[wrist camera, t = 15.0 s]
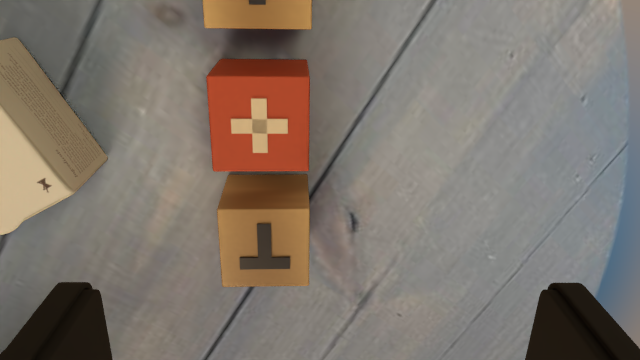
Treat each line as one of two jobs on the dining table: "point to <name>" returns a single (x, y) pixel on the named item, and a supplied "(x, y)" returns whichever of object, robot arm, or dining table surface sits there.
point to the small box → (37, 140)
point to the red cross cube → (259, 115)
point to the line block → (258, 14)
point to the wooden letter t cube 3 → (264, 230)
